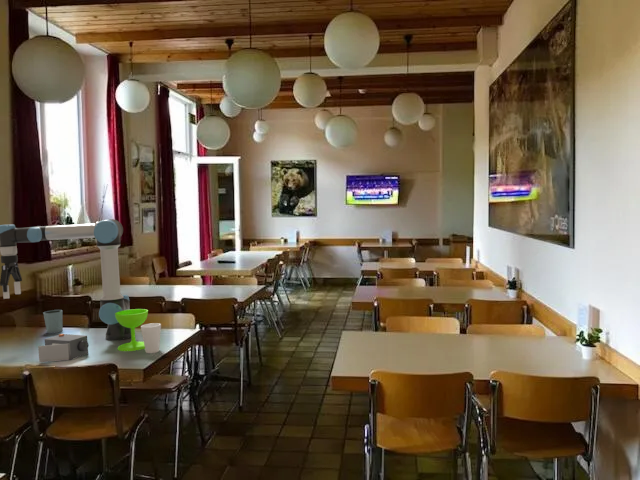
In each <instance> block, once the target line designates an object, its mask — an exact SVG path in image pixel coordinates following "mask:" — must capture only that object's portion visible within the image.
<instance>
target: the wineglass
mask: <svg viewBox="0 0 640 480" xmlns="http://www.w3.org/2000/svg"><path fill="white" fill-rule="evenodd" d="M148 316H149V310H148V309H145V308H135V309H133V308H132V309H130V310H124V311H119V312H116V313H115V317H116V319H117V321H118V322H119V323H120V324H121V325H122V326H124V327H127V328H131V338H130V339H131V340H130V342H125V343H122V344H121V345H118V346H117V351H119V352H136V350H137V351H141V350H145V346H144V341H142V340H141V341H137V339H136V328H138V327H139V326H140V327H141V326H142V325H144V324H145V321H146V320H147V319H148ZM143 323H144V324H143Z"/></svg>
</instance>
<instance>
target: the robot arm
mask: <svg viewBox="0 0 640 480" xmlns="http://www.w3.org/2000/svg"><path fill="white" fill-rule="evenodd" d="M123 233H124V227H123V225H122V223H121V222H120V221H118V220H117V219H114V218H113V219H112V218H108V219H102V220H100V221H96V222H95V223H79V224H63V225H62V224H61V225H44V226H43V225H42V226H41V225H37V226H29V227H16V225H15V224H13V223H12V224H0V255H1V256H0V262H1V264H4V265H2V266H1V273H0V287H1V286H2V296H3V297H2V298H3V300H5V299H10V297H11V296H10V285H8V284H9V282H10V281H9V280H10V277H11V276H12V278H13V287H14V289H13V290H14V294H15V295H21V294H22V290H21V289H22V288H21V282H23V278H22V275H21V272H20V268H19V263H18V261H19V259H18V255H17V254H18V248H17V246H18V245H17V244H19V243H21V244H22V243H39V242H40V241H53V240H55V241H56V240H58V241H59V240H72V239H73V240H75V239H94V238H95V240H96V247H97V248H98V249H99V251H100V266H101V267H100V268H101V280H102V281H101V283H102V286H101V287H102V295H101V297H100V298H99V300H100V302H99V304H100V308H99V310H98V311H99V312H98V317H99V319H100V320H101V321H102V322H103V323H104V324H107V328H106V332H105V340H108V341H117V340H118V341H121V340H126V339H131V328H127V327H124V326H122V325H121V324H120V323H119V322H118V321H117V319H116V317H115V313H116V312H119V311H124V310H130V301H131V300H130V298H129V297H130V296H129V295H127V294H121V279H120V263H119V252H118V251H119V248H120V247H121V237H122V235H123Z"/></svg>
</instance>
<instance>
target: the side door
mask: <svg viewBox="0 0 640 480" xmlns="http://www.w3.org/2000/svg"><path fill="white" fill-rule="evenodd" d="M37 348H38V360H39V361H38V362H39V363H46V362H55V361H56V362H57V361H67V360H68V361H69V360H70V359H71V351H70V343H68V344H57V345H45V344H44V345H38V347H37ZM70 361H71V360H70Z"/></svg>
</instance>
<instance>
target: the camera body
mask: <svg viewBox="0 0 640 480" xmlns="http://www.w3.org/2000/svg"><path fill="white" fill-rule="evenodd" d="M43 340H44V346H45V345H57V344H68V343H70V351H71V359H70V361H72V360H75V359H77V358H80V357H83V356H86V355H88V354H89V342H88V335H83V334H68V333H59V334H58V335H53V336H52V337H51V336H50V337H48V338H44V339H43Z"/></svg>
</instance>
